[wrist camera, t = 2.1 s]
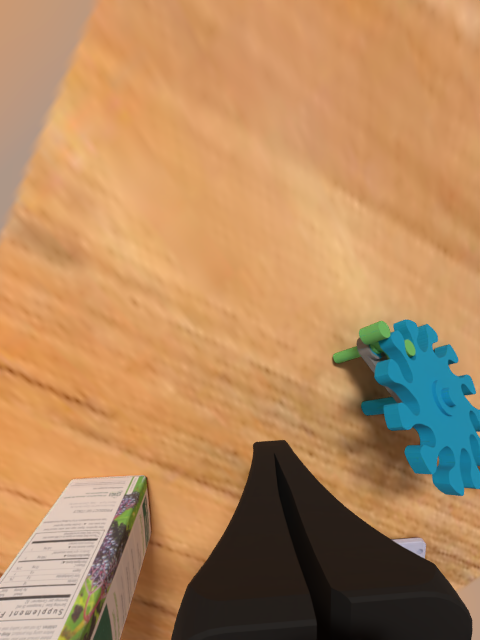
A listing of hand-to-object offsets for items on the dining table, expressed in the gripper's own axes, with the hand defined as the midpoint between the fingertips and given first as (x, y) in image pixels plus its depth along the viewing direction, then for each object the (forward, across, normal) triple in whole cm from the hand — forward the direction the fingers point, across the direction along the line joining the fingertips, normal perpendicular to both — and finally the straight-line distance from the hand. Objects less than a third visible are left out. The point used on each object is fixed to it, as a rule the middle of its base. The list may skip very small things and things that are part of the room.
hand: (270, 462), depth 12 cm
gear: (+9, -10, 0) cm, 14 cm away
